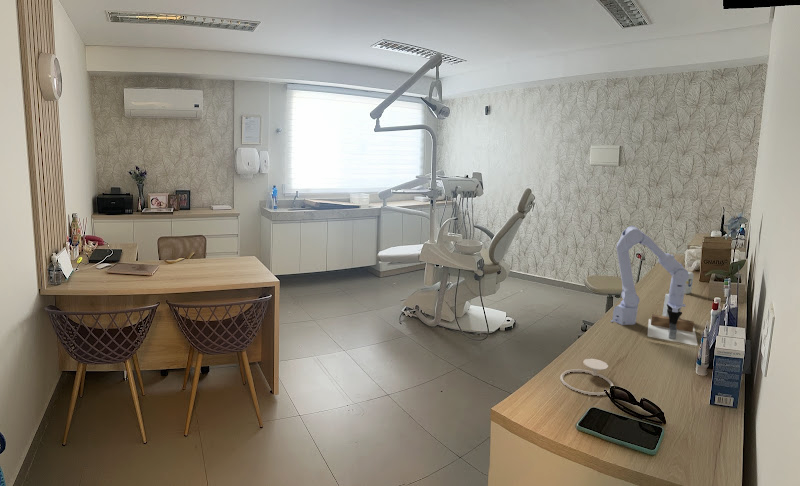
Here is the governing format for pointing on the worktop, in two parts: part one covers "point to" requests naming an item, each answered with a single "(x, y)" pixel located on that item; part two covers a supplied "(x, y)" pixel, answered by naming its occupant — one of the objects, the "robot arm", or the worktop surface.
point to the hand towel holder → (593, 365)
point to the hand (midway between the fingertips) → (672, 323)
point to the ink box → (689, 283)
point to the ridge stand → (672, 334)
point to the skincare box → (666, 306)
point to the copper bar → (664, 322)
